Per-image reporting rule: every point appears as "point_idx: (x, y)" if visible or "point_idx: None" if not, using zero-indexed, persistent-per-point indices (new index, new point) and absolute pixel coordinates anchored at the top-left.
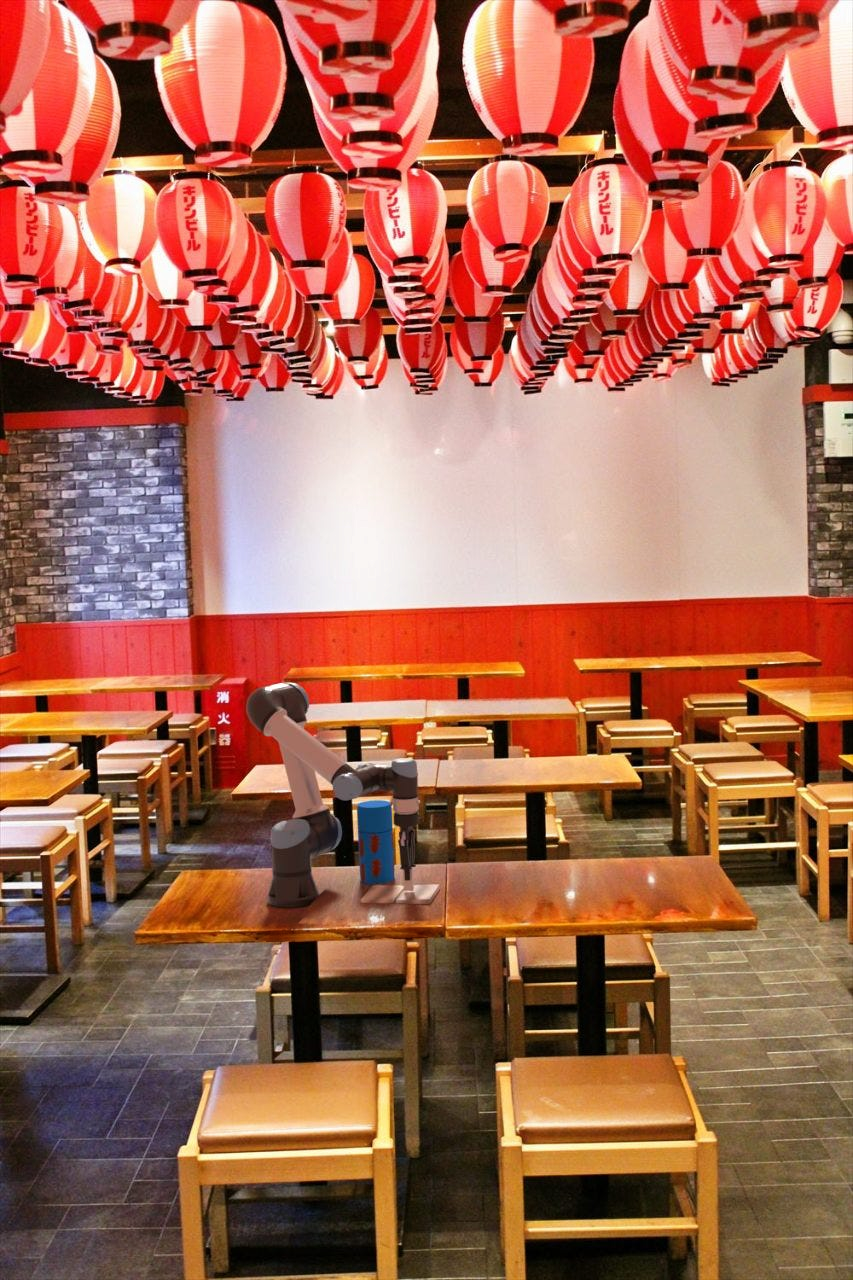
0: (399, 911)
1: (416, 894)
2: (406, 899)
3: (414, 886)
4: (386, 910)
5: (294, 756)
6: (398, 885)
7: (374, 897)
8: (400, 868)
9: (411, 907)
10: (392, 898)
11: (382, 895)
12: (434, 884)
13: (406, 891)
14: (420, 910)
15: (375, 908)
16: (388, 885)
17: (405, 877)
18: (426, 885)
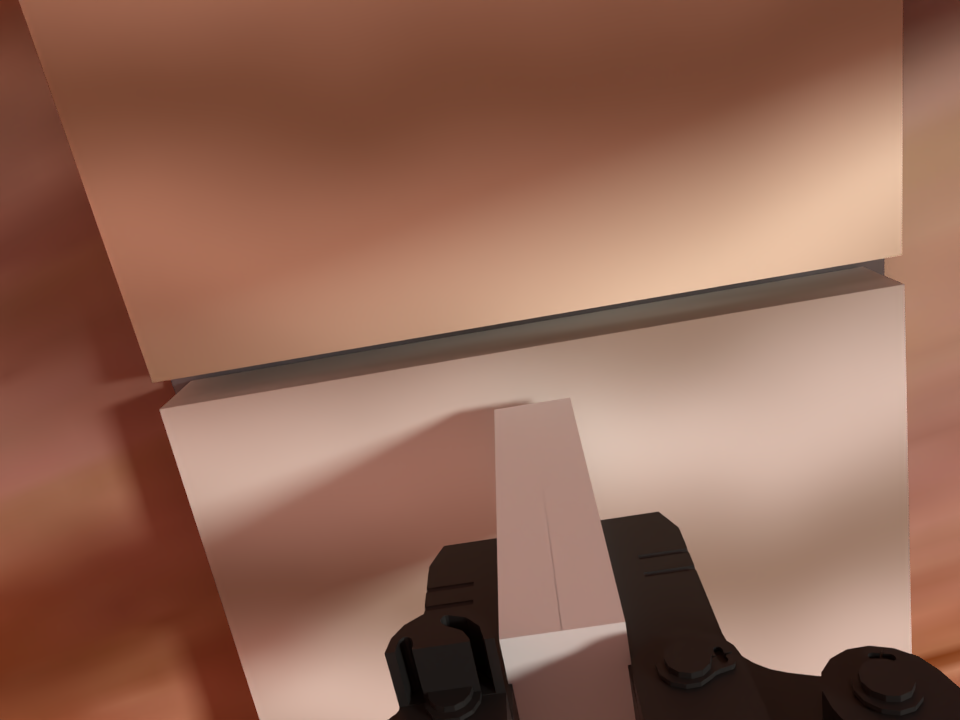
0: (79, 460)
1: None
2: (211, 540)
3: (828, 423)
4: (45, 300)
5: None
6: (901, 144)
7: (166, 23)
8: (391, 646)
9: None
10: (220, 329)
11: (312, 112)
12: (909, 651)
13: (575, 401)
14: (204, 646)
15: (55, 119)
16: None
17: (430, 598)
18: (870, 567)
